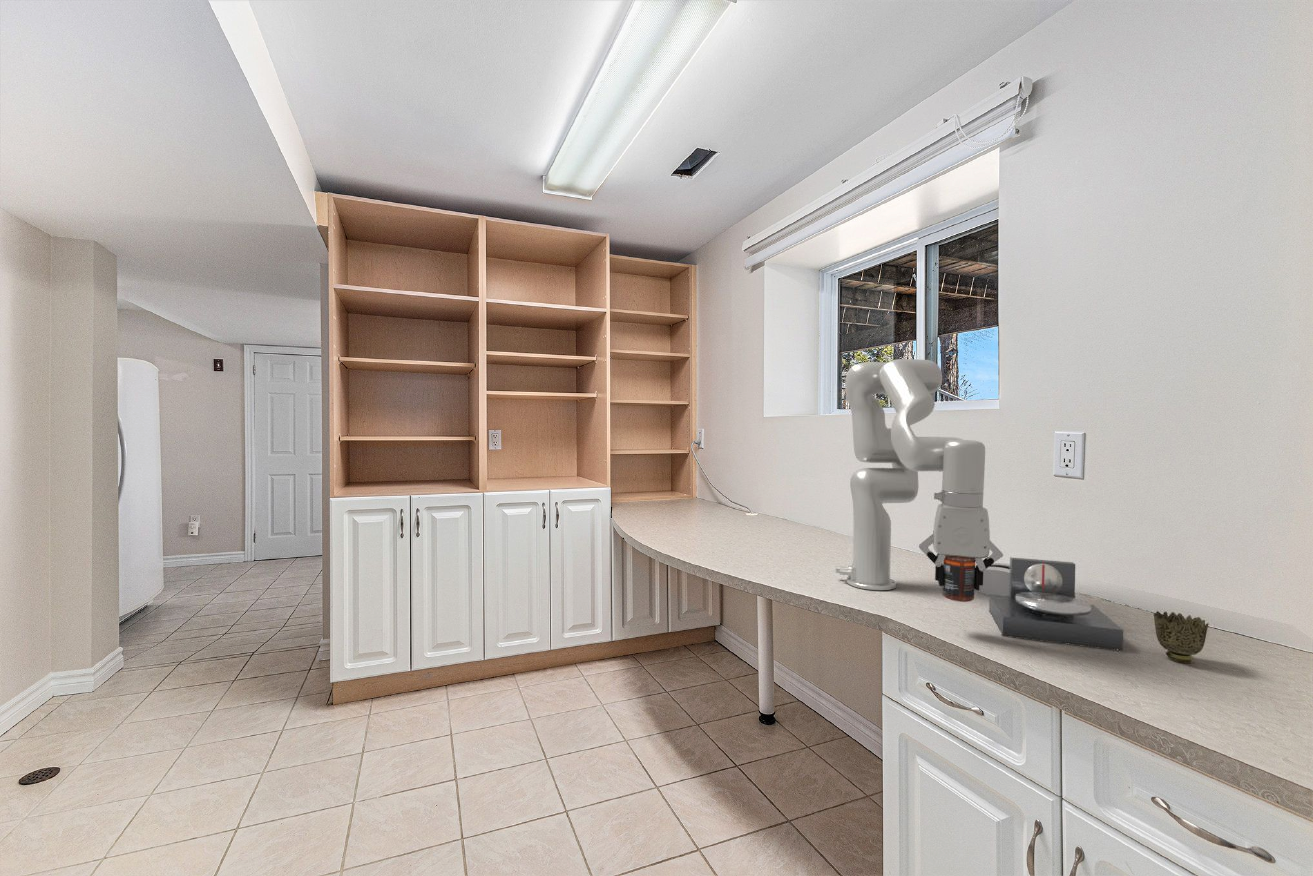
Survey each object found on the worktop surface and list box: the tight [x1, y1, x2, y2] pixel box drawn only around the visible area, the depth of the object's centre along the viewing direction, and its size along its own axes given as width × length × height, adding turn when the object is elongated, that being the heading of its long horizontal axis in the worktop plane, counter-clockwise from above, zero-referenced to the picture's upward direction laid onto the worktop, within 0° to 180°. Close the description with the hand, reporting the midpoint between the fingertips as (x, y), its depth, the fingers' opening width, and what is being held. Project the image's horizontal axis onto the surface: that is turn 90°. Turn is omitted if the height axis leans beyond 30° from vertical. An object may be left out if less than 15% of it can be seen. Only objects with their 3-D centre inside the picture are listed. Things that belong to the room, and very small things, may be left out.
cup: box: [1153, 610, 1209, 664], centre depth 106 cm, size 8×7×8 cm
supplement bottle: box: [941, 555, 976, 603], centre depth 119 cm, size 6×6×11 cm
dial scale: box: [988, 556, 1124, 651], centre depth 122 cm, size 20×17×13 cm
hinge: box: [977, 562, 1010, 596], centre depth 143 cm, size 17×5×10 cm, turn 29°
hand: (958, 585), depth 119 cm, fingers closed on supplement bottle, 6 cm apart
